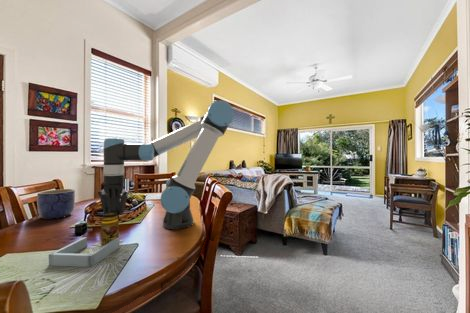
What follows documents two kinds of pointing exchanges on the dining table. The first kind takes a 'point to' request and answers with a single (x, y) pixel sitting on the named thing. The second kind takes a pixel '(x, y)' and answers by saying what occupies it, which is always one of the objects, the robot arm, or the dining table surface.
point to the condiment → (109, 228)
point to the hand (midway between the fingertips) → (113, 230)
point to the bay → (68, 257)
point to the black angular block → (80, 230)
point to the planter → (56, 203)
